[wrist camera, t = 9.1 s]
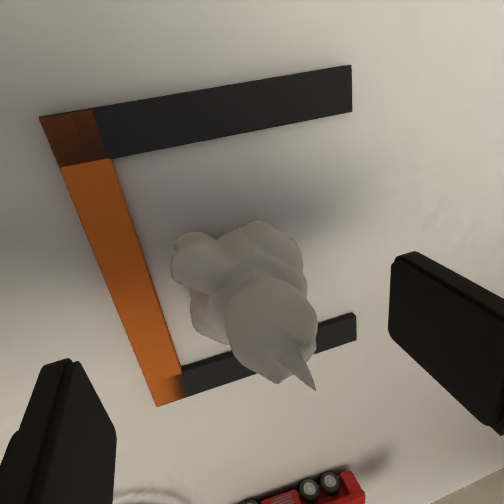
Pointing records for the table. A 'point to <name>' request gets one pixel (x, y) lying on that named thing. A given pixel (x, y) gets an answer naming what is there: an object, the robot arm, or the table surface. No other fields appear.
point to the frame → (118, 218)
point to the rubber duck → (250, 297)
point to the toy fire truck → (322, 491)
